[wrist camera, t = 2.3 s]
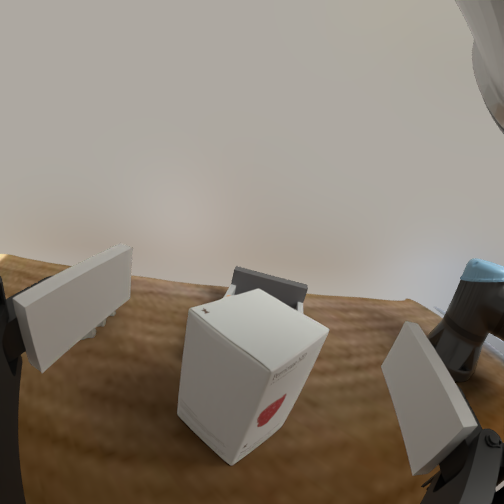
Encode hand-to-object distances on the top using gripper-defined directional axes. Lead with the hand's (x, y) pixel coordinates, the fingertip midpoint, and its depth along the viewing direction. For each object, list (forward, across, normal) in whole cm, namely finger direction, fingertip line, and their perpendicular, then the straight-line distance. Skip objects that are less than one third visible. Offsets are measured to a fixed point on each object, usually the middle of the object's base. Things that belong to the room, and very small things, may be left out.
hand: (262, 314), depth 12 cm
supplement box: (+9, 0, -21) cm, 23 cm away
